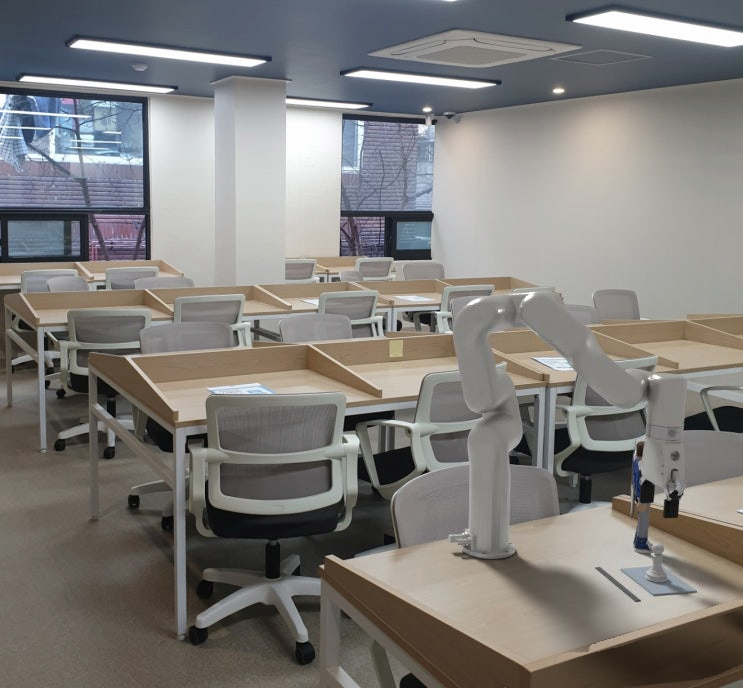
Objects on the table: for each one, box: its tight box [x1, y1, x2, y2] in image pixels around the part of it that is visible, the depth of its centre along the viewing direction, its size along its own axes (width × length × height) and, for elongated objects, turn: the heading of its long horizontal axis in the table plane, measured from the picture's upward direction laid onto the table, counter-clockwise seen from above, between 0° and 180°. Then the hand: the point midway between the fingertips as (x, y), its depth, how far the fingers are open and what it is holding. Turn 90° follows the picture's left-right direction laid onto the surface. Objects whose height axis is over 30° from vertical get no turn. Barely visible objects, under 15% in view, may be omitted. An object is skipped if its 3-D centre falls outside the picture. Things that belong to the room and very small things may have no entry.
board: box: [594, 565, 698, 602], centre depth 184 cm, size 15×18×1 cm
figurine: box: [630, 437, 655, 554], centre depth 201 cm, size 10×6×30 cm, turn 168°
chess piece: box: [645, 542, 668, 583], centre depth 184 cm, size 5×5×8 cm
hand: (658, 510), depth 183 cm, fingers open, 9 cm apart
